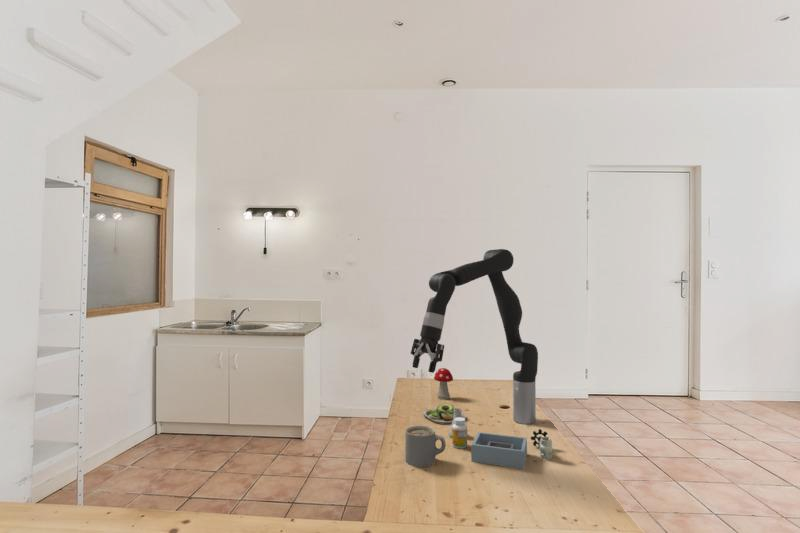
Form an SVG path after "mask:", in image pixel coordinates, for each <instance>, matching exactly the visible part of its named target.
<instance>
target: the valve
mask: <svg viewBox="0 0 800 533" xmlns="http://www.w3.org/2000/svg"><path fill="white" fill-rule="evenodd" d="M532 434H533V436H530V440H531V441H532V445H533V446H535V447H536V446H537V447H538V448H539V452H540V453H539V454H540V459H541V460H543V459H545V460H544V461H547V460H548V461H551V460H550V459H553V458H552V454H553V446H552V444H553V443H552V439H551V437H549V436H548V432H547V431H544V432H543V430H542V429H541V428H539V429H538V430H537V432H536V431H532ZM538 435H540V436H538ZM541 435H542V436H541ZM536 439H537V440H536Z"/></svg>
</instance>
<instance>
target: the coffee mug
mask: <svg viewBox="0 0 800 533" xmlns="http://www.w3.org/2000/svg"><path fill="white" fill-rule="evenodd" d="M435 430H436V429H434V428H433V427H430V426H427V425H413V426H412V425H411V426H408V427H407V428H405V437H404V438H405V442H404V443H405V445H404V446H405V449H404V451H405V452H404V453H405V457H404V458H405V463H406V464H407V463H408V464H407V465H409V466H411V465H412V467H416V468H427V467H430V466H432V465H434V464H435V463H436V457H437V455H439V454H441V453H443V452H444V451H446V450H445V449H446V447H447V446H446V445H447V444H446V440H445V438H444V436H443V435H441V434H440V435H439V434H436V431H435ZM438 440H439V441H440V442H441V446H440V447H439V448H438V447H437V446H436V444H437V443H436V442H437V441H438Z"/></svg>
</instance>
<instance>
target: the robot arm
mask: <svg viewBox="0 0 800 533" xmlns="http://www.w3.org/2000/svg"><path fill="white" fill-rule="evenodd" d="M513 265H514V256H513V254H512V252H511V251H510V250H508V249H505V248H500V249H497V248H496V249H489V250H486V252H485V253H484V255H483V259H482V260H477V261H473V262H469V263H465V264H463V265H460V266H457V267H455V268H452V269H450V270H445V271H444V270H443V271H440V272H437V273H434V274H433V275H431V277H430V278H429V280H428V286H429V289H430V290H432V292H435V293H436V294H435V296H433V297H430V298H429V300H428V302H427V305H426V306H427V307H426V311H425V314H424V317H423V321H422V326H421V330H420V334H419V335H420V336H419V337H420V339H418V338H414V340H413V343H412V347H411V351H410V355H412V356H413V361H412V368H414V369H418V368H419V365H420V360H421V357H422V355H424V354H428V357H429V358H430V363H429V366H428V373H431V374H435V373H434V372H435V371H436V369H437V368H436V367H437V363H438V362H442V361H443V356H444V350H445V344H442V343H439V342H440V341H441V339H442V338H441V337H442V333H443V328H444V324H445V316H446V312H447V306H448V304H449V302H450V300H451V298H452V296H453V295H454V293H455V289H456V287H459V286H460V287H461V286H463V285H465V284H468V283H470V282H473V281H475V280H478V279H479V278H482V277H483V278H484V276H487V277H488V278H489V282H490V284H491V287H492V290H493V293H494V297H495V301H496V304H497V309H498V312H499V315H500V318H501V321H502V326H503V330H504V335H505V338H506V339H505V340H506V345H507V351H508V355H509V358H510V359H511V361H513V362H514V363H517V364H521V365H520V370H519V371H514V372H513V375H512V388H513V389H512V398H513V400H512V407H513V408H512V418H513V419H512V421H514V422H516V423H517V424H524V425H525V424H526V425H531V424H535V423H536V419H537V417H536V415H537V413H536V412H537V410H536V408H537V407H536V398H537V396H536V393H537V391H536V389H537V388H536V378H537V374H538V365H539V364H538V363H539V352H538V348H537V346H536V345H535V344H533V343H530V342H525V341H523V340H522V337H521V334H520V326H521V322H522V317H523V309H522V306H521V302H520V299H519V297H518V295H517V293H516V292H515V291H514V290H513V288H512V287H511V286H510V285H509V283H508V282H507V281H506V278H505V277H504V273H503V272H506V271H509V270H510V269H511V268H512V267H513Z"/></svg>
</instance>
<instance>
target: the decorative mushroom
mask: <svg viewBox="0 0 800 533" xmlns="http://www.w3.org/2000/svg"><path fill="white" fill-rule="evenodd" d="M433 380H434V381H437V382H439V385H438V391H437V394H436V396H437V398H438V399H439V398H440V399H439V400H444V399H447V400H449V399H450V397H451V394H450V392H449V387H448V386H449V385H448V383H449V382H452V381H453V380H454V378H453V374H452V373H451V371H450V369H447V368H444V367H442V368H438V370H436V372H435V373H434V377H433Z"/></svg>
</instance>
